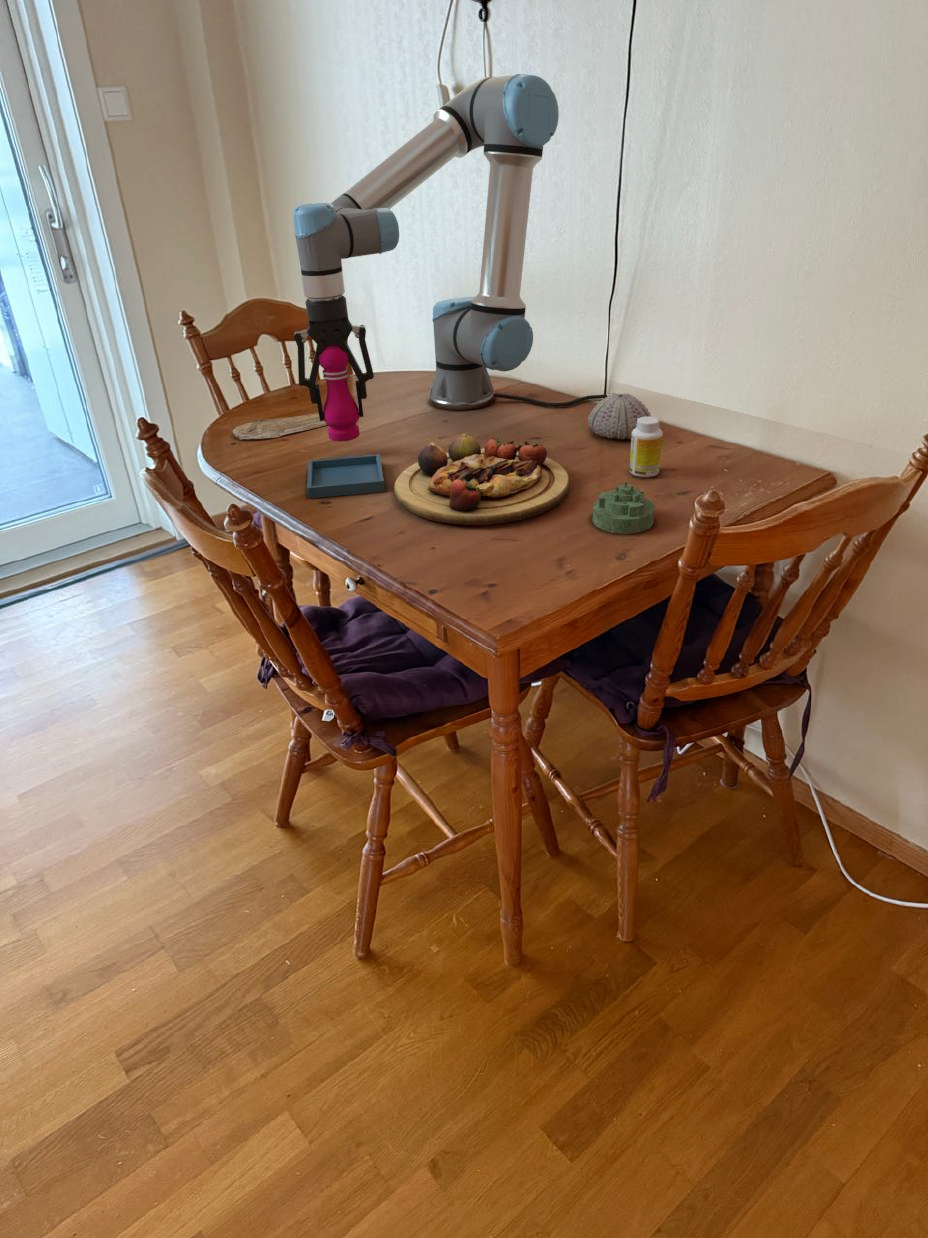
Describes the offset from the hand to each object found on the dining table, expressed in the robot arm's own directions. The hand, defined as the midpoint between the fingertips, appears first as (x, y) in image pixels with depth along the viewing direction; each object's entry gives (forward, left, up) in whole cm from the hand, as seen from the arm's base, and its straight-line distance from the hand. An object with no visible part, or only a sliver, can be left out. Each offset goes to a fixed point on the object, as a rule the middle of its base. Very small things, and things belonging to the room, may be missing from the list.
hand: (341, 416), depth 167 cm
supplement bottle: (-55, +24, -8) cm, 61 cm away
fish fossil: (+12, -21, -8) cm, 25 cm away
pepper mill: (0, 0, -4) cm, 4 cm away
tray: (0, +14, -8) cm, 16 cm away
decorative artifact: (-45, +43, -8) cm, 63 cm away
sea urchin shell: (-57, +2, -8) cm, 58 cm away
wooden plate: (-24, +25, -8) cm, 36 cm away
